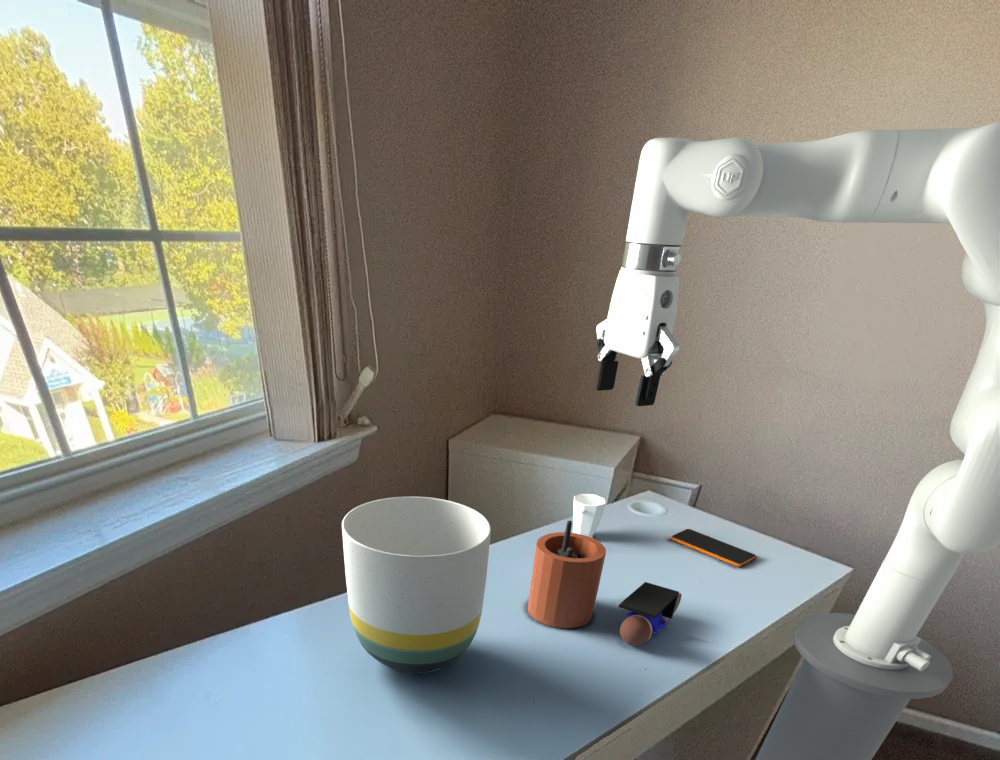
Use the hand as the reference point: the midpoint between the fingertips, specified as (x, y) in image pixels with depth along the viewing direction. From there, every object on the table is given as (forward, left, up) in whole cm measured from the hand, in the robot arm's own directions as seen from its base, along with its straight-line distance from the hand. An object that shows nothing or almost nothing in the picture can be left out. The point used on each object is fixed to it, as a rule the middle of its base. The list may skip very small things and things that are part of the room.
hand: (623, 397), depth 98 cm
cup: (+18, -11, -32) cm, 39 cm away
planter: (-10, +39, -32) cm, 52 cm away
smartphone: (+4, -35, -32) cm, 48 cm away
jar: (-6, +10, -32) cm, 34 cm away
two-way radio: (-6, +10, -31) cm, 34 cm away
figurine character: (-17, 0, -32) cm, 36 cm away
